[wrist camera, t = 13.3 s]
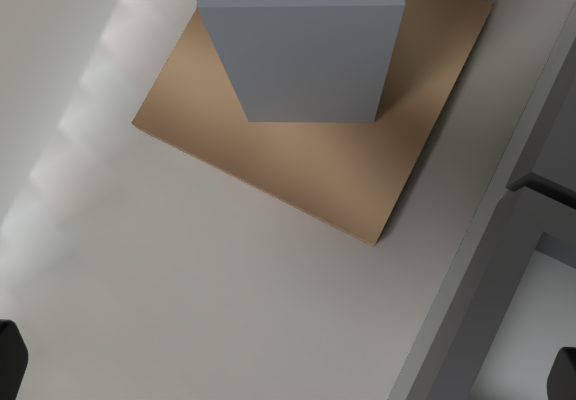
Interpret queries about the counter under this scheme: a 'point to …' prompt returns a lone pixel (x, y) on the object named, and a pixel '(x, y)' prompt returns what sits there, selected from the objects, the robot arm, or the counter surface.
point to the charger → (305, 55)
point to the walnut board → (319, 136)
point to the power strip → (511, 262)
